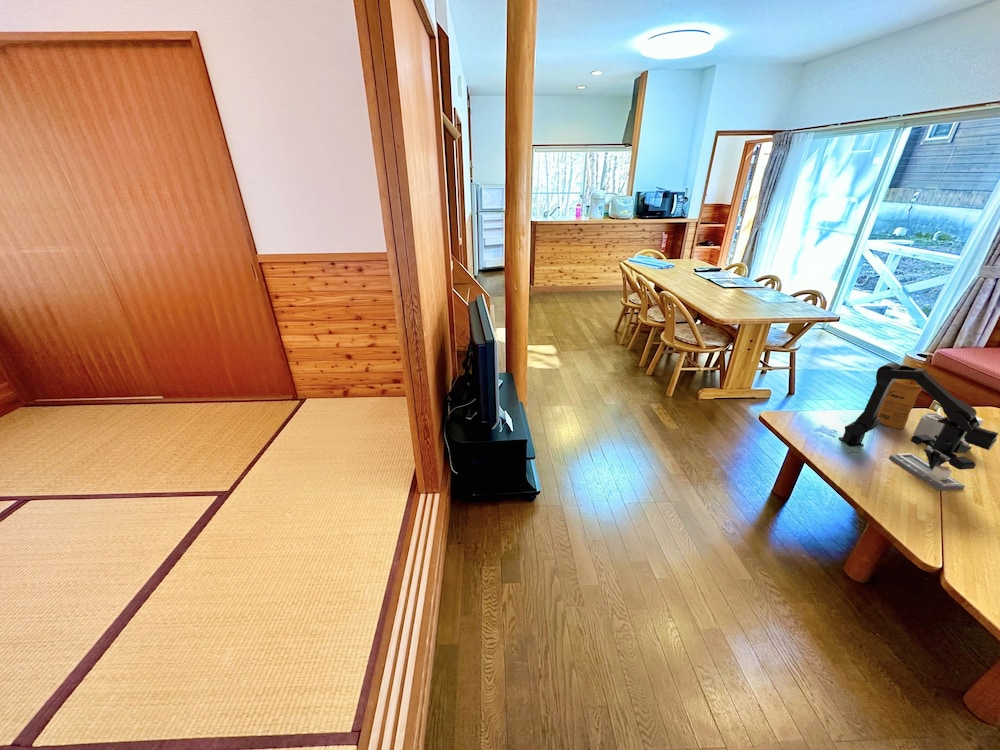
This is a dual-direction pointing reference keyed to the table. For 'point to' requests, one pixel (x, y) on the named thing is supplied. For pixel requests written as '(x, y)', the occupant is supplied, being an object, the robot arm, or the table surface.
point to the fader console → (924, 472)
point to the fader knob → (941, 472)
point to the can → (929, 425)
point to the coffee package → (898, 404)
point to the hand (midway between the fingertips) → (932, 468)
